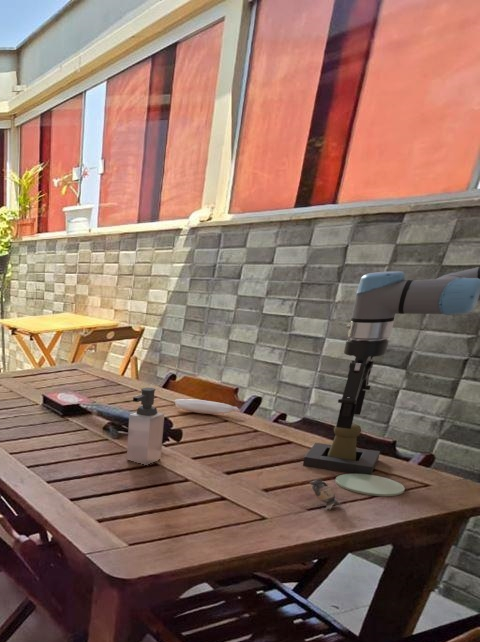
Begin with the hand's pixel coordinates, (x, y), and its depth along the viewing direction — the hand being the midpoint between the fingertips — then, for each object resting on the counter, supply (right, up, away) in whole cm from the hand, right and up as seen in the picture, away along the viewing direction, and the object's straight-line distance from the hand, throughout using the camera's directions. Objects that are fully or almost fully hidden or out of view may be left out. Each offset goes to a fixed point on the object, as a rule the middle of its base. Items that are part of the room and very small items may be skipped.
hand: (348, 420), depth 127 cm
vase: (-20, -21, -14) cm, 32 cm away
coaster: (-4, -16, -9) cm, 19 cm away
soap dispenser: (-44, -11, +19) cm, 49 cm away
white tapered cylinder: (+18, +25, +92) cm, 97 cm away
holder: (+1, -11, +4) cm, 12 cm away
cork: (+1, -11, +4) cm, 12 cm away
